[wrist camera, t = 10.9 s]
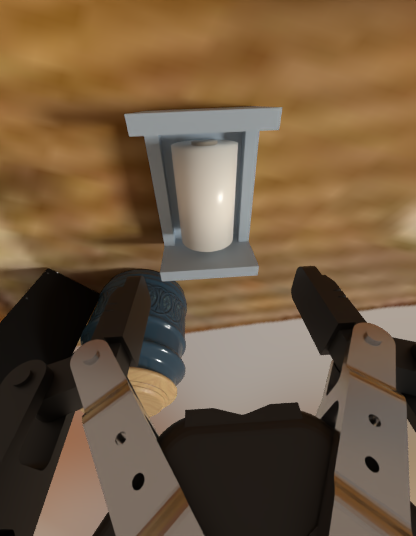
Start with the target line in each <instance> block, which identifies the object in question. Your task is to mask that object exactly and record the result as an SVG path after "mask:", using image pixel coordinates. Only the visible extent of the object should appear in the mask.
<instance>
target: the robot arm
mask: <svg viewBox="0 0 416 536" xmlns="http://www.w3.org/2000/svg"><path fill="white" fill-rule="evenodd" d="M291 294H292V299H293V301H294V303H295V305H296V307H297V309H298V311H299V313H300V315H301V317H302V319H303V321H304V323H305V325H306V327H307V329H308V331H309V333H310V335H311V337H312V339H313V341H314V342H315V345H316V347H317V349H318V351H319V353H320V355H331V357H332V359H333V360H332V362H331V365H330V369H329V373H328V377H327V381H326V386H325V390H324V394H323V398H322V401H321V404H320V406H319V408H318V410H317V413H316V416H313V415H311V414H309V413H306V412H303V411H300V408H299V405H298V403H297V402H296V403H281V404H270V405H267V406H265V407H262V408H260V409H257V410H255V411H253V412H250V413H247V414H244V415H240V414H236V413H232V412H227V411H223V410H219V409H214V408H209V409H195V410H185V418H183V419H181V420H179V421H177V422H176V423H174V424H172V425H171V426H170V427H168V428H167V429H166V430H165V431H164V432H163V433H162V434H161V435H160V436H159V435H158V433H157V432H156V429H155V428H154V426H153V424H152V422H151V420H150V418H149V416H148V415H147V413H146V411H145V409H144V407H143V405H142V403H141V401H140V400H139V398H138V396H137V394H136V392H135V390H134V388H133V386H132V384H131V382H130V380H129V378H128V377H127V375H128V371H129V367H136V366H138V362H139V357H140V353H141V348H142V344H143V339H144V335H145V330H146V326H147V321H148V317H149V312H150V307H151V299H150V294H149V291H148V288H147V284H146V281H145V278H144V276H129V277H127V279H126V282H125V284H124V287H118V288H117V289H116V290H115V291H114V292H113V293H112V294H111V295H110V297H109V299H108V302H107V305H106V306H105V309H104V312H103V313H102V315H101V318H100V320H99V322H98V324H97V327H96V329H95V331H94V333H93V336H92V338H91V340H90V341H89V342H87V343H85V344H83V345H82V346H81V347H79V348H78V349H77V350H76V351H75V353H74V354H73V356H72V357H69V358H66V359H64V360H61V361H58V362H55V363H52V364H49V365H46V364H45V363H44V362H43V361H41V360H30V361H27V362H25V363H23V364H21V365H19V366H17V367H16V368H15V369H13V370H12V371H11V372H10V373H9V374H8V375H7V376H6V377H5V379H4V380H3V381H2V383H1V384H0V536H33V534H34V531H35V528H36V525H37V522H38V519H39V516H40V513H41V510H42V508H43V505H44V502H45V499H46V495H47V493H48V490H49V487H50V484H51V481H52V478H53V475H54V472H55V469H56V466H57V463H58V460H59V457H60V454H61V451H62V448H63V446H64V442H65V440H66V437H67V434H68V431H69V428H70V425H71V422H72V419H73V416H74V413H75V411H77V410H79V409H82V408H84V412H85V414H84V415H83V416H82V423H83V427H84V431H85V434H86V437H87V441H88V444H89V447H90V451H91V454H92V457H93V461H94V464H95V468H96V471H97V474H98V478H99V481H100V484H101V488H102V491H103V494H104V498H105V501H106V504H107V508H108V511H109V512H108V513H107V514H106V516H105V517H104V519H103V520H102V522H101V523H100V525H99V527H98V528H97V529H96V531H95V533H94V534H93V536H416V506H414V505H413V503H412V502H410V488H409V461H408V434H407V419H408V421H409V422H410V424H411V425H412V427H413V429H414V430H415V432H416V342H412V341H407V340H403V339H398V338H393V337H391V335H390V334H389V333H388V332H386V331H385V330H383V329H382V328H380V327H378V326H376V325H374V324H371V323H367V322H366V321H365V320H364V318H363V317H362V316H361V315H360V313H359V312H358V311H357V309H356V308H355V307H354V306H353V304H352V303H351V302H350V300H349V299H348V298H346V295H345V294H344V293H343V291H341V289H340V288H339V286H338V285H337V284H336V283H335V281H333V280H332V279H330V278H329V277H327V276H326V275H322V274H321V273H320V272H319V270H318V269H317V268H316V267H315V266H304V267H298V268H297V271H296V274H295V278H294V281H293V285H292V289H291Z"/></svg>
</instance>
